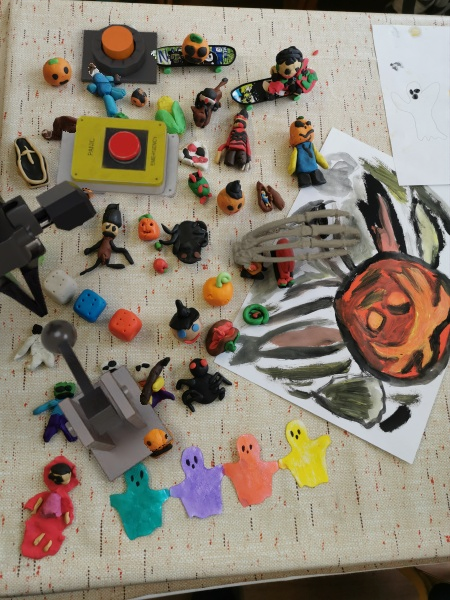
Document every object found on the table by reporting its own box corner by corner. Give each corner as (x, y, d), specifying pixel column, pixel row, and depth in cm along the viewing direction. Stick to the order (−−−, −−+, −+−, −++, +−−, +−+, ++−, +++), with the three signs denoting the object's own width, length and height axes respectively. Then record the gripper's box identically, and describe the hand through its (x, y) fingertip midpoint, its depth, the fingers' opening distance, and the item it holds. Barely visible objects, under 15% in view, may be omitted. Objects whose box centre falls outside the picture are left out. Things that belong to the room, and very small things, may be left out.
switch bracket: (64, 405, 63) (24, 386, 47) (125, 366, 65) (106, 334, 49) (111, 482, 61) (86, 488, 45) (172, 439, 63) (169, 430, 47)
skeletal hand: (364, 254, 72) (381, 246, 65) (235, 279, 70) (241, 273, 64) (354, 210, 72) (371, 198, 66) (226, 233, 70) (231, 223, 64)
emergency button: (175, 181, 67) (48, 174, 66) (175, 198, 71) (56, 191, 70) (179, 115, 70) (57, 106, 69) (179, 134, 74) (64, 126, 73)
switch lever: (47, 347, 59) (30, 325, 57) (76, 329, 60) (61, 306, 58) (96, 444, 48) (77, 421, 46) (131, 420, 49) (115, 396, 47)
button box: (81, 82, 75) (78, 69, 73) (84, 33, 77) (81, 19, 75) (156, 84, 76) (155, 72, 73) (157, 35, 78) (156, 22, 76)
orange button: (102, 59, 74) (101, 50, 72) (104, 34, 75) (102, 25, 73) (133, 60, 74) (132, 51, 72) (134, 35, 75) (133, 26, 74)
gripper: (-169, 265, 39) (-35, 410, 48) (65, 140, 43) (150, 294, 52) (-154, 223, 48) (-44, 352, 57) (38, 123, 52) (115, 257, 61)
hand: (44, 314), depth 56 cm, fingers closed
